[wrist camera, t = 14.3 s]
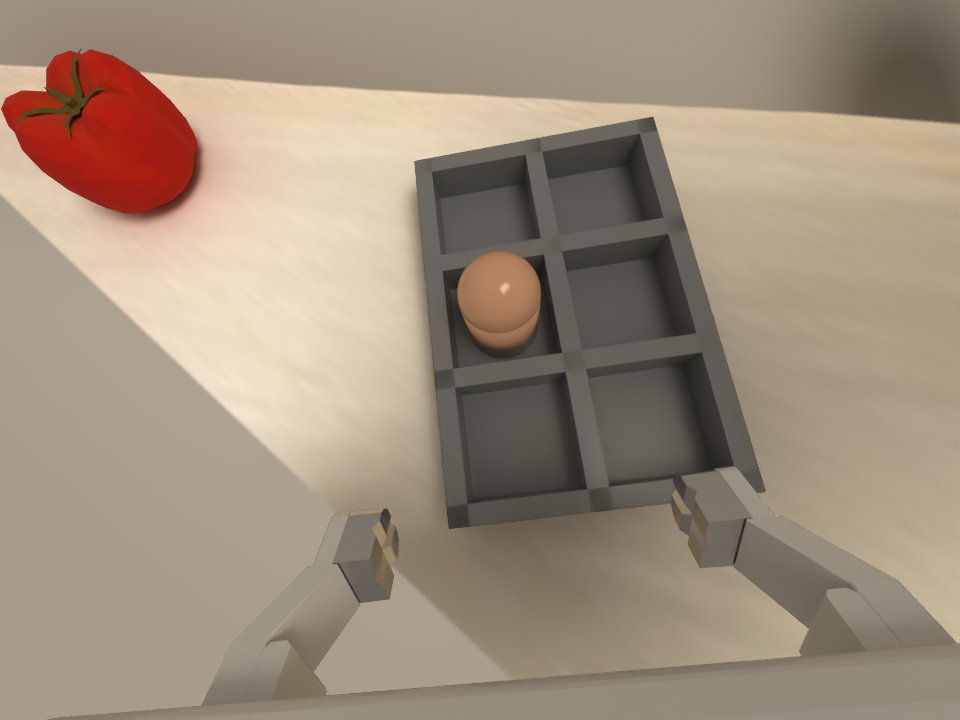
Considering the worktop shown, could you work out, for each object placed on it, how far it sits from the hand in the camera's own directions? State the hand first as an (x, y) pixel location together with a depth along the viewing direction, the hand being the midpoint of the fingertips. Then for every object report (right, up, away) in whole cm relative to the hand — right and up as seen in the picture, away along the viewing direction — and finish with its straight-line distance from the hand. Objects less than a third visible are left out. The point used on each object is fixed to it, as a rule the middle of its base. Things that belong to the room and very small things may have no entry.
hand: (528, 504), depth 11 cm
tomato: (-31, +21, +26) cm, 45 cm away
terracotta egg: (0, +7, +17) cm, 18 cm away
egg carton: (+4, +7, +18) cm, 19 cm away
